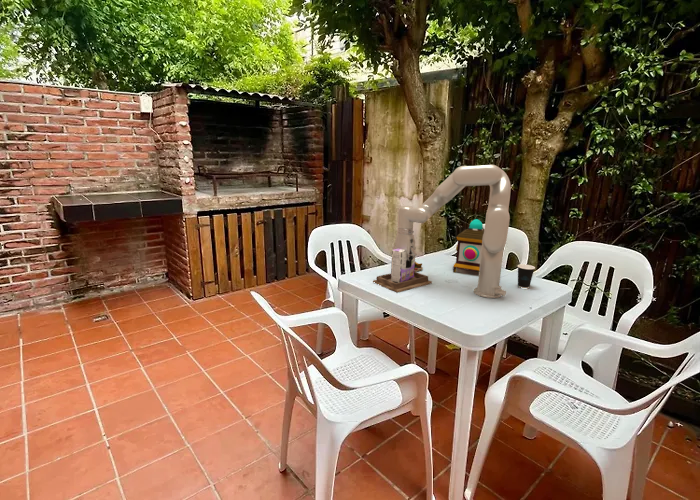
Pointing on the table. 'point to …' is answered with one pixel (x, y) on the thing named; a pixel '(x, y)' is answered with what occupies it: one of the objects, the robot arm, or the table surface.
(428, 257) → the table surface
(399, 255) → the candy box
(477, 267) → the decorative lantern
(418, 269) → the toy sandwich meal
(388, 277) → the tray
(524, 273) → the dixie cup
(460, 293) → the table surface
